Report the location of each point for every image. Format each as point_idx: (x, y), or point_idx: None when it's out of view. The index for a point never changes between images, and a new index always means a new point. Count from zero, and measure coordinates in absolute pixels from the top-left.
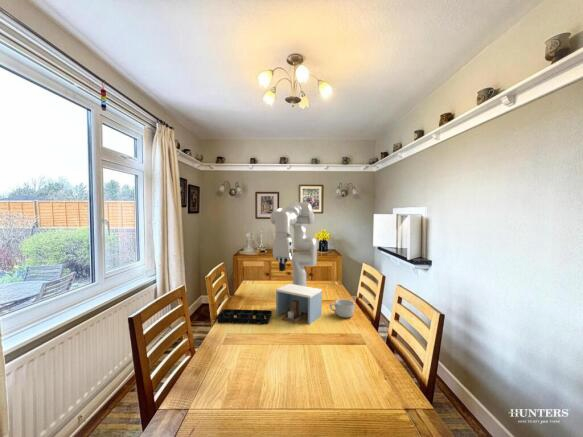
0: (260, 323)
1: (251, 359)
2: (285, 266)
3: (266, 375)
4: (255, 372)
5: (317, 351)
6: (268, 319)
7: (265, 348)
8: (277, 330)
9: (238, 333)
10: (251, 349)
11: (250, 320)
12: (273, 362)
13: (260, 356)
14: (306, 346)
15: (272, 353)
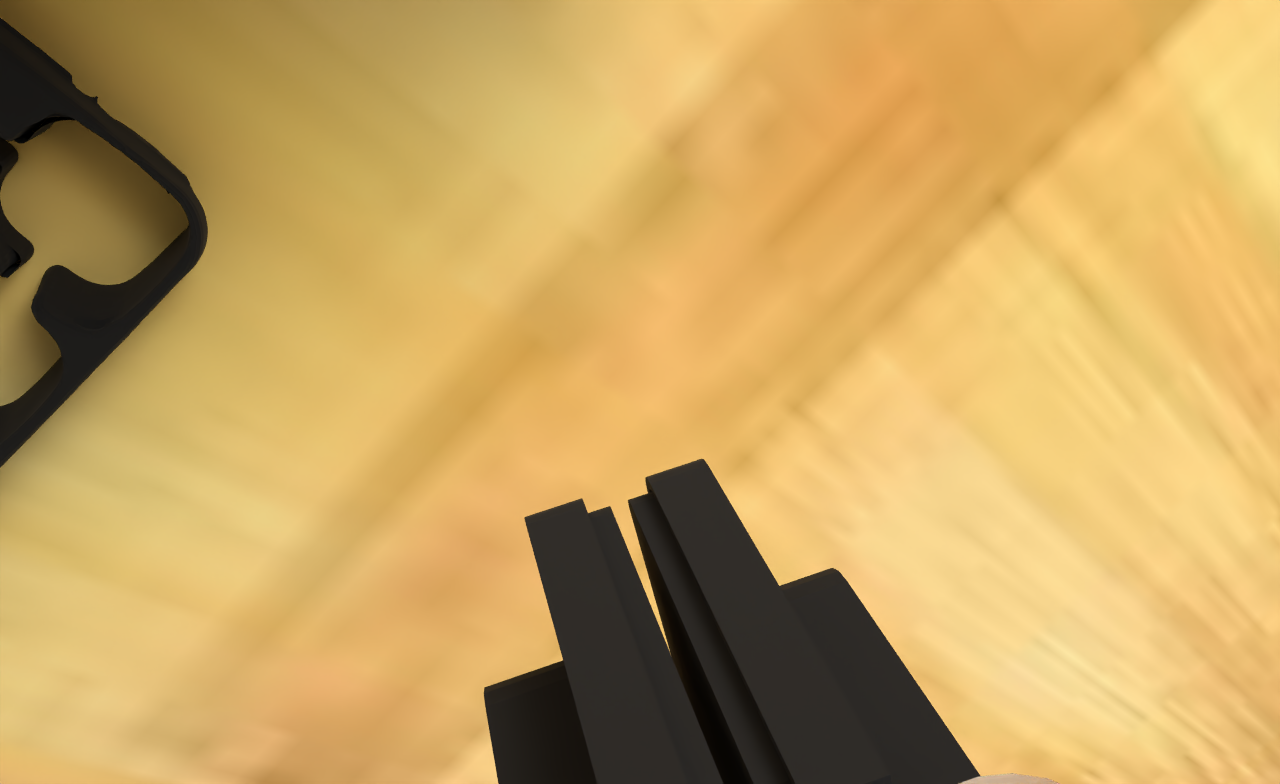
0: (126, 291)
1: None
2: (900, 666)
3: (1042, 728)
4: None
5: (1196, 191)
6: (201, 209)
7: None
8: (498, 214)
9: (231, 646)
10: None
11: (10, 429)
12: (974, 617)
13: None
14: (1053, 208)
15: (869, 556)
